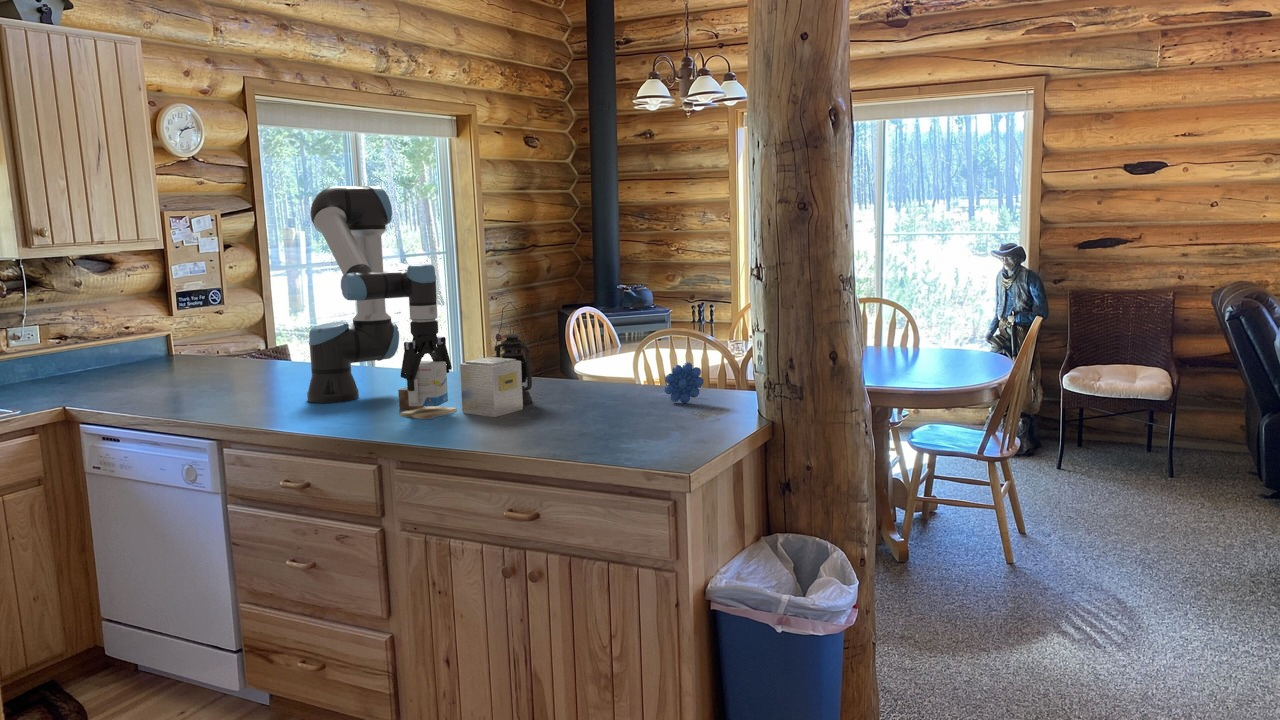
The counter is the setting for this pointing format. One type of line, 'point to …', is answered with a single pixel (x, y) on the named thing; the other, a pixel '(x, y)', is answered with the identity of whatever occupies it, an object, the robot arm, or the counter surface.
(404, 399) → the walnut block
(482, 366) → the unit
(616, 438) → the counter surface
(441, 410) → the board
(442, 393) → the ink box
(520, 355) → the lantern
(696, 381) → the blue flower
